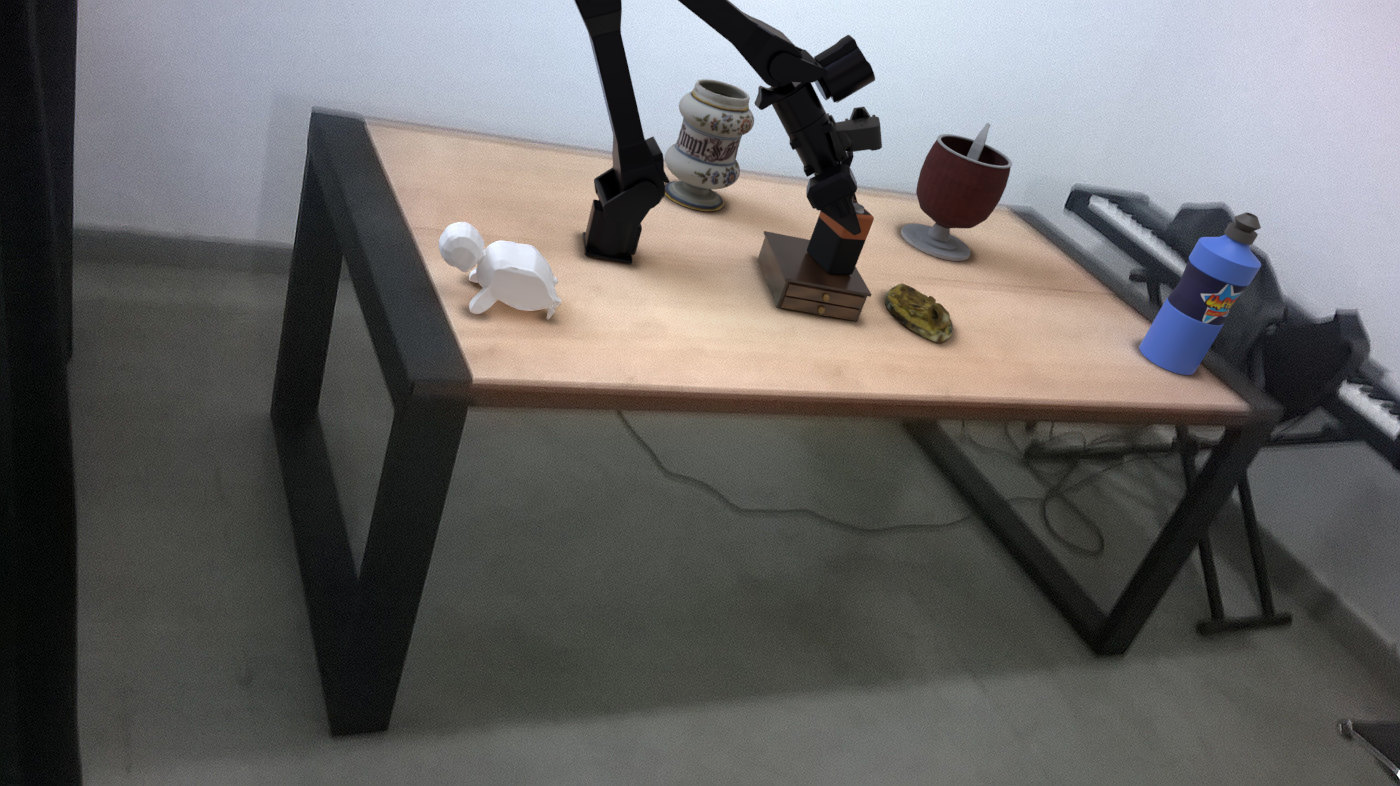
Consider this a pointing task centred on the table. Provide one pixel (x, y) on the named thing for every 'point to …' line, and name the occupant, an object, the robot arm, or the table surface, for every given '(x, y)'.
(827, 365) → the table surface
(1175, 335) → the water bottle
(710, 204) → the apothecary jar
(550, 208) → the table surface
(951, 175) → the mate gourd
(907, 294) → the olive oval relief
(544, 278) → the white turtle figurine
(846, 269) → the battery
